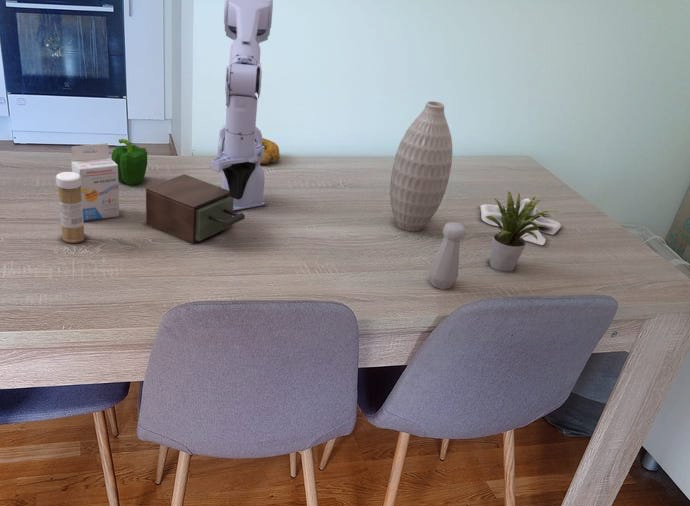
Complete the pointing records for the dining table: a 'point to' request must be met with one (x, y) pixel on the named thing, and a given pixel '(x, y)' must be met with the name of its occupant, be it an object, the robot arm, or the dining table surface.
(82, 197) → the ink box
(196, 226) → the drawer
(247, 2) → the robot arm
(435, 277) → the salt shaker
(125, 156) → the bell pepper
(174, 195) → the cabinet
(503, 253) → the house plant
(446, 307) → the dining table surface
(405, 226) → the vase
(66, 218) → the sprinkles bottle
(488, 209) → the cloth
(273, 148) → the bagel
